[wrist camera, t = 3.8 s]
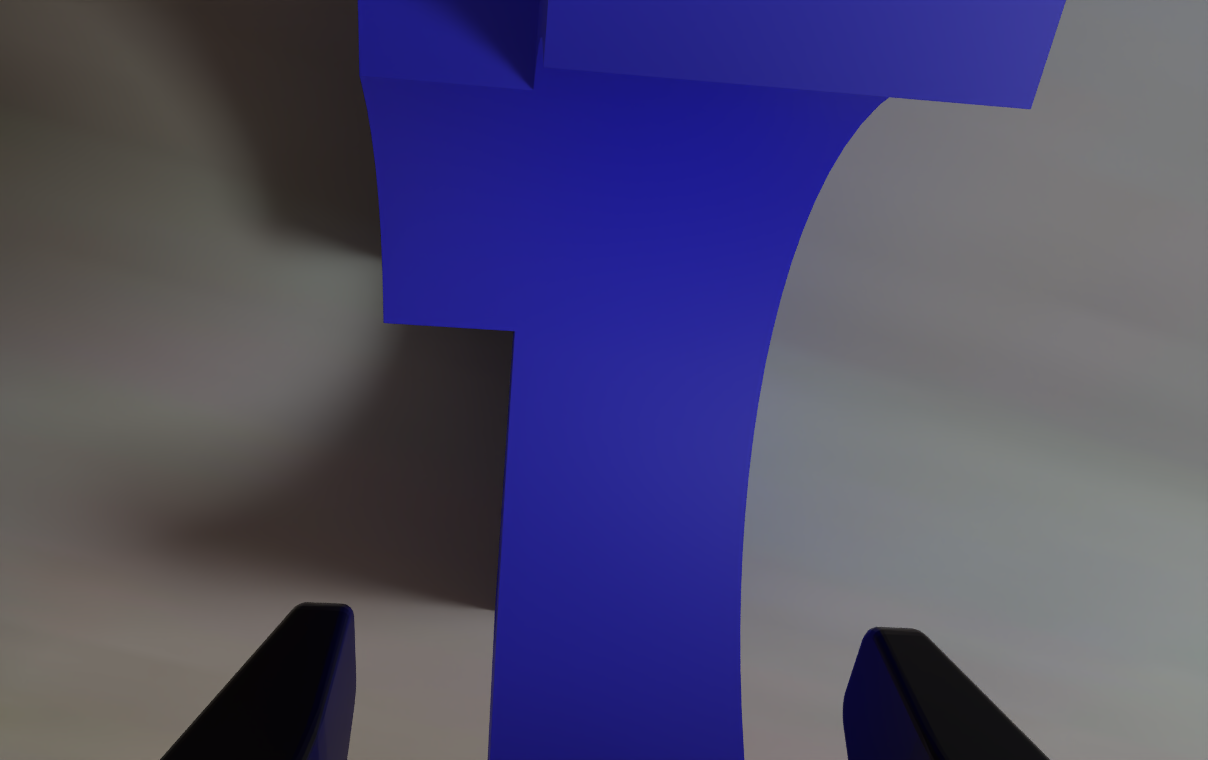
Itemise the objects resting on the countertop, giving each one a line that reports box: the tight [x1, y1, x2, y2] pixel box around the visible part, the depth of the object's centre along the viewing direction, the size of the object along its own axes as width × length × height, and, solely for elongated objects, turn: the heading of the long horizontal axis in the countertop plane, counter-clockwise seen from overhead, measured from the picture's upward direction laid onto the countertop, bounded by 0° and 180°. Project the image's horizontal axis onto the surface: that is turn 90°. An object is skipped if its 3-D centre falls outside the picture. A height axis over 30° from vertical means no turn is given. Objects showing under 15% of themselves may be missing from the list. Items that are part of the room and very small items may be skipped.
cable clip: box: [358, 0, 1066, 760], centre depth 11 cm, size 12×4×6 cm, turn 174°
